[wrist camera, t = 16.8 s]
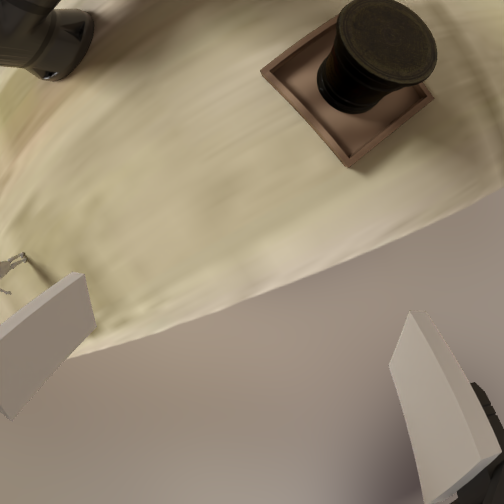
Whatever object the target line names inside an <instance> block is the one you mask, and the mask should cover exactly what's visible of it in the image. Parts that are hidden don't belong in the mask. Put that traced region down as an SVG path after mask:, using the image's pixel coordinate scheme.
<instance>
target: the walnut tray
mask: <svg viewBox="0 0 504 504" xmlns="http://www.w3.org/2000/svg"><path fill="white" fill-rule="evenodd" d="M338 15H339V14H338ZM338 15H337V16H335V17H334V18H332V19H331V20H329V21H327V22H326V23H324V24H323V25H321V26H320V27H318V28H317V29H315V30H314V31H312V32H311V33H309V34H308V35H307V36H305V37H304V38H302V39H301V40H299V41H298V42H297V43H295V44H294V45H292V46H291V47H290V48H288V49H287V50H286V51H284V52H283V53H282V54H280V55H279V56H278V57H277V58H275V59H274V60H273V61H271V62H270V63H269V64H268V65H266V66H265V67H264V68H263V69H261V70H260V72H261V74H262V76H263V77H264V78H265V79H266V80H267V81H268V82H269V83H270V84H271V85H272V86H273V87H274V88H275V89H276V90H277V91H278V92H279V93H280V94H281V95H282V96H283V97H284V98H285V99H286V100H287V101H288V102H289V103H290V104H291V105H292V106H293V107H294V109H295V110H296V111H297V112H298V113H299V114H300V115H301V116H302V117H303V118H304V119H305V120H306V121H307V123H308V124H309V125H310V126H311V127H312V128H313V129H314V130H315V132H316V133H317V134H318V135H319V136H320V137H321V138H322V140H323V141H324V142H325V143H326V144H327V145H328V147H329V148H330V149H331V150H332V151H333V153H334V154H335V155H336V156H337V158H338V159H339V160H340V161H341V162H342V164H343V165H344V166H345V167H348V168H349V167H350V166H351V165H353V164H354V163H355V162H356V161H357V160H359V159H360V158H361V157H362V156H364V155H365V154H366V153H367V152H369V151H370V150H371V149H372V148H374V147H375V146H376V145H377V144H379V143H380V142H381V141H382V140H383V139H385V138H386V137H387V136H388V135H390V134H391V133H392V132H393V131H395V130H396V129H397V128H398V127H400V126H401V125H402V124H403V123H405V122H406V121H407V120H408V119H410V118H411V117H412V116H413V115H415V114H416V113H417V112H418V111H419V110H421V109H422V108H423V107H424V106H426V105H427V104H428V103H429V102H431V101H432V100H433V99H434V97H433V96H432V94H431V93H430V92H429V90H428V89H427V88H426V86H425V85H424V84H423V82H421V83H419V84H417V85H414V86H410V87H404V88H402V89H400V90H398V91H394V92H392V93H390V94H388V95H386V96H384V98H383V99H381V100H380V101H379V102H378V104H377V105H375V106H374V107H373V108H372V109H370V110H369V111H367V112H364V113H360V114H348V113H344V112H341V111H338V110H336V109H335V108H333V107H332V106H330V105H329V104H328V103H327V102H326V101H325V100H324V99H323V97H322V96H321V94H320V92H319V90H318V86H317V72H318V69H319V67H320V65H321V64H322V62H323V61H324V59H325V58H326V57H327V56H328V55H329V53H330V52H331V49H332V47H333V44H334V38H335V35H336V22H337V18H338Z"/></svg>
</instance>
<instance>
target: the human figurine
mask: <svg viewBox="0 0 504 504" xmlns="http://www.w3.org/2000/svg"><path fill="white" fill-rule="evenodd" d="M23 255H24V253H23V252H22V253H20V254H18V255H16V256H14V257H11V258H9V259H8V260H7V261H3V262H0V279H1V278H3V277H4V276H5V275H6V274H7V273H8V272H9V271H10V270H11V269H14V268H15V267H16V266H17V265H19V264H20V263H22V262H24V263H25V262H26V260H27V258H26V257H24V259H23V260H20V261H17V262H15V263H13V264H11V266H10V263H11V262H12V261H13V260H14V259H17V258H18V257H20V256H21V258H22V257H23ZM0 291H1V292H4V293H5V294H10V295H11V294H12V293H11V292H10V291H4V290H2V289H0Z"/></svg>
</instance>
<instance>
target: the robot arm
mask: <svg viewBox="0 0 504 504" xmlns="http://www.w3.org/2000/svg"><path fill="white" fill-rule="evenodd" d="M60 1H61V0H0V66H4V67H17V68H24V69H26V70H27V71H29V72H30V73H32V74H33V75H35V76H36V77H38V78H39V79H42V80H47V81H57V80H60V79H62V78H64V77H65V76H67V75H68V74H69V73H70V72H71V71H72V70H73V69H74V68H75V67H76V66H77V65H78V64H79V62H80V61H81V60H82V58H83V57H84V55H85V53H86V51H87V50H88V47H89V45H90V43H91V40H92V36H93V31H94V23H93V19H92V17H91V16H90V14H88V13H86V12H84V11H82V10H80V9H54V8H55V7H56V5H57V4H58V3H59V2H60ZM96 327H97V326H96V322H95V318H94V314H93V310H92V306H91V302H90V297H89V293H88V288H87V283H86V278H85V274H82V273H77V272H71V273H70V274H68V275H67V276H65V277H64V278H63V279H61V280H60V281H58V282H57V283H55V284H54V285H53V286H51V287H50V288H48V289H47V290H46V291H44V292H43V293H41V294H40V295H39V296H37V297H36V298H35V299H33V300H32V301H30V302H29V303H28V304H26V305H25V306H24V307H22V308H21V309H20V310H19V311H17V312H16V313H15V314H13V315H12V316H11V317H9V318H8V319H7V320H6V321H4V322H3V323H2V324H1V325H0V412H1V413H2V414H4V416H6V417H7V418H8V419H10V420H11V421H13V420H14V419H15V417H16V416H17V415H18V414H19V412H20V411H21V410H22V409H23V408H24V406H25V405H26V404H27V403H28V402H29V401H30V399H31V398H32V397H33V396H34V395H35V393H36V392H37V391H38V390H39V389H40V388H41V387H42V385H43V384H44V383H45V382H46V381H47V380H48V379H49V377H50V376H51V375H52V374H53V373H54V372H55V371H56V370H57V369H58V367H59V366H60V365H61V364H62V363H63V362H64V361H65V360H66V359H67V358H68V357H69V355H70V354H71V353H72V352H73V351H74V350H75V349H76V348H77V347H78V346H79V345H80V344H81V343H82V342H83V341H84V339H85V338H86V337H87V336H88V335H89V334H90V333H91V332H92V331H93V330H94V329H95V328H96ZM388 366H389V369H390V372H391V375H392V378H393V381H394V384H395V387H396V390H397V394H398V397H399V400H400V403H401V407H402V410H403V414H404V417H405V421H406V425H407V428H408V432H409V436H410V440H411V443H412V447H413V452H414V456H415V460H416V464H417V469H418V474H419V478H420V483H421V488H422V494H423V499H424V504H434V503H438V502H441V501H444V500H446V499H447V498H449V497H450V496H452V495H453V494H454V493H456V492H457V495H458V498H457V499H456V500H455V501H453V502H452V503H450V504H504V429H503V427H502V424H501V423H500V420H499V419H498V416H497V415H495V413H496V412H495V410H494V408H493V406H491V403H490V401H489V399H488V397H487V395H486V393H485V392H484V391H483V390H482V389H481V388H480V387H479V386H478V385H477V384H476V383H475V382H474V383H469V381H468V379H467V378H466V376H465V374H464V372H463V370H462V369H461V367H460V365H459V363H458V361H457V360H456V358H455V357H454V355H453V354H452V351H451V350H450V348H449V346H448V345H447V343H446V341H445V340H444V338H443V337H442V335H441V334H440V332H439V330H438V329H437V327H436V326H435V324H434V323H433V321H432V320H431V318H430V317H429V315H428V314H427V312H426V311H411V310H410V311H409V313H408V315H407V318H406V321H405V324H404V327H403V330H402V333H401V335H400V338H399V341H398V343H397V346H396V349H395V351H394V353H393V356H392V358H391V361H390V363H389V365H388Z"/></svg>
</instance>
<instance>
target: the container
mask: <svg viewBox="0 0 504 504" xmlns="http://www.w3.org/2000/svg"><path fill="white" fill-rule="evenodd" d="M436 62H437V48H436V43H435V40H434V38H433V36H432V33H431V32H430V30H429V28H428V27H427V25H426V24H425V23H424V22H423V20H422V19H421V18H420V17H419V16H418V15H417V14H415V13H414V12H413V11H412V10H410V9H409V8H408V7H406V6H404V5H402V4H401V3H399V2H396V1H394V0H354V1H352V2H350V3H349V4H347V5H346V6H345V7H344V8H343V9H342V10H341V12H340V13H339V15H338V18H337V22H336V35H335V38H334V44H333V47H332V49H331V52H330V53H329V55H328V56H327V57H326V58H325V59H324V61H323V62H322V64H321V65H320V67H319V69H318V72H317V86H318V90H319V92H320V94H321V96H322V97H323V99H324V100H325V101H326V102H327V103H328V104H329V105H330V106H332V107H333V108H335V109H336V110H338V111H341V112H344V113H348V114H360V113H364V112H367V111H369V110H370V109H372V108H373V107H374V106H375V105H377V104H378V102H379V101H380V100H381V99H383V98H384V96H386V95H388V94H390V93H392V92H394V91H398V90H400V89H402V88H404V87H410V86H414V85H417V84H419V83H421V82H423V81H425V80H426V79H427V78H428V77H429V76H430V75H431V73H432V72H433V70H434V68H435V65H436Z"/></svg>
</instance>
